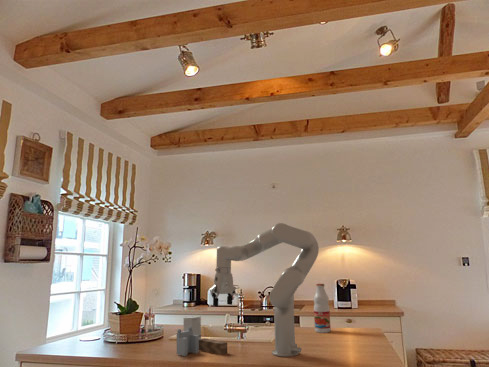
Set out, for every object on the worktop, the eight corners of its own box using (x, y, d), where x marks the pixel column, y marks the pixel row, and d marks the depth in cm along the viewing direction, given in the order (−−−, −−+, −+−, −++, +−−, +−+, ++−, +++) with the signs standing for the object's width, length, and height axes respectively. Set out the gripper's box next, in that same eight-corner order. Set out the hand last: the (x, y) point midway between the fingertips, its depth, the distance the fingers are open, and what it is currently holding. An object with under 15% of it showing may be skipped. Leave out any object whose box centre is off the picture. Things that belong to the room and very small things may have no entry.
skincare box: (192, 348, 209) (192, 318, 212) (182, 347, 212) (182, 317, 215) (201, 344, 217) (201, 315, 219) (192, 343, 220) (192, 315, 222)
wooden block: (227, 353, 197) (227, 342, 197) (221, 355, 194) (221, 344, 194) (204, 348, 207) (204, 338, 208) (198, 350, 204) (198, 339, 205)
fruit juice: (332, 330, 247) (329, 283, 252) (328, 333, 239) (325, 284, 243) (317, 329, 251) (315, 283, 256) (312, 332, 243) (310, 284, 248)
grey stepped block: (198, 352, 199) (198, 327, 201) (184, 356, 193) (184, 330, 195) (190, 350, 203) (190, 326, 205) (176, 354, 197) (176, 329, 199)
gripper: (216, 271, 199) (214, 307, 196) (240, 270, 211) (239, 304, 209) (205, 270, 204) (204, 305, 201) (230, 269, 217) (229, 303, 214)
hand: (222, 305), depth 205 cm, fingers open, 9 cm apart
